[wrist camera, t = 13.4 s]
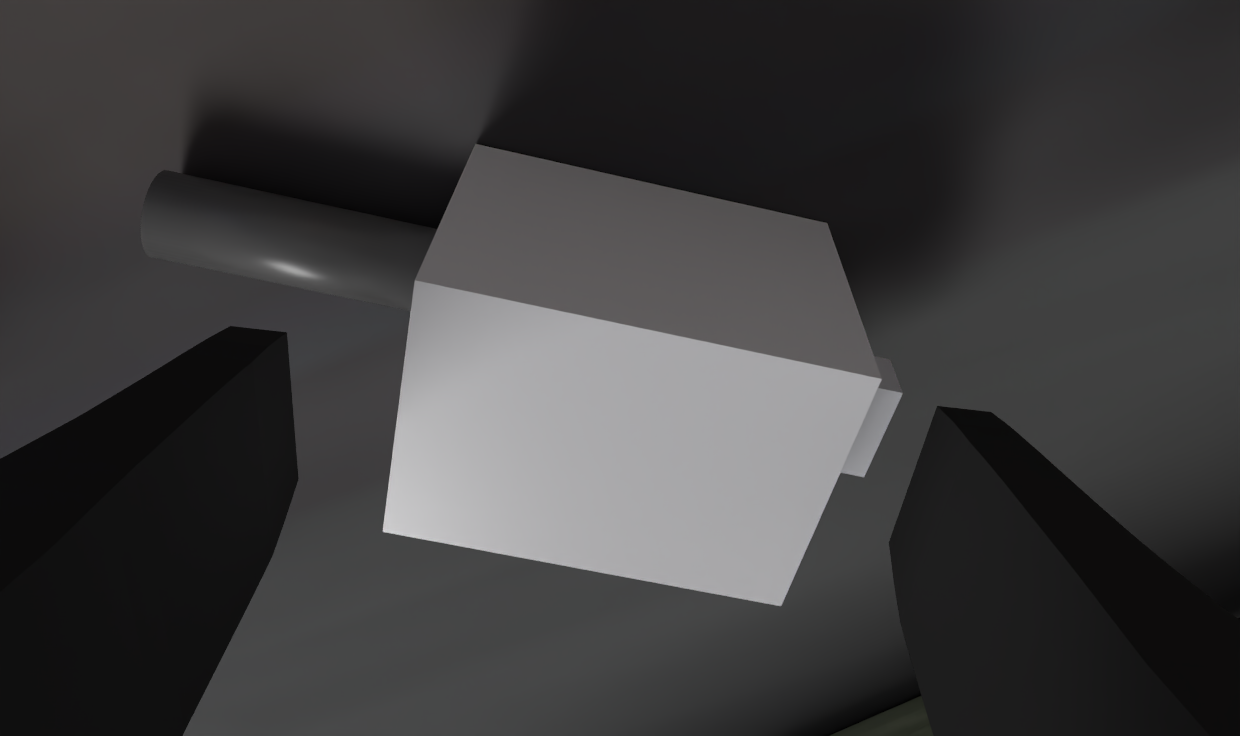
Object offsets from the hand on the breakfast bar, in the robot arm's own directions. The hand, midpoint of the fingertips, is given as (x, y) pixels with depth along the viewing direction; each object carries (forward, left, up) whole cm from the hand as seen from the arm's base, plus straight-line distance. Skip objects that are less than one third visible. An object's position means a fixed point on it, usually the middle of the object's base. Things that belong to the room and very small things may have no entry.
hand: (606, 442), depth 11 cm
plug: (-1, -1, -4) cm, 4 cm away
